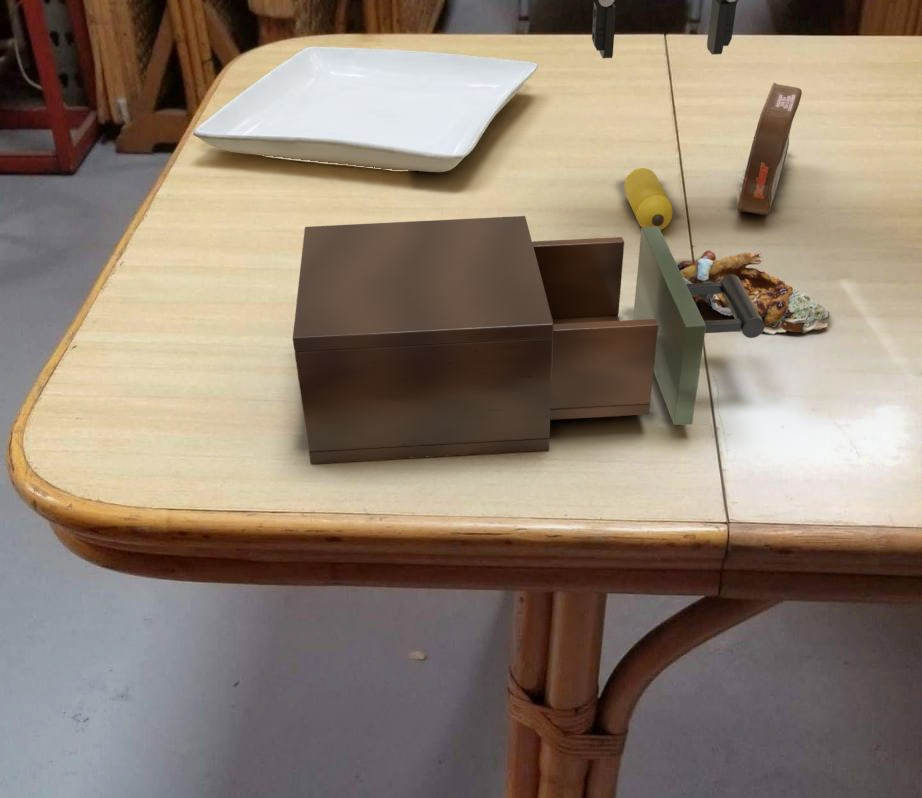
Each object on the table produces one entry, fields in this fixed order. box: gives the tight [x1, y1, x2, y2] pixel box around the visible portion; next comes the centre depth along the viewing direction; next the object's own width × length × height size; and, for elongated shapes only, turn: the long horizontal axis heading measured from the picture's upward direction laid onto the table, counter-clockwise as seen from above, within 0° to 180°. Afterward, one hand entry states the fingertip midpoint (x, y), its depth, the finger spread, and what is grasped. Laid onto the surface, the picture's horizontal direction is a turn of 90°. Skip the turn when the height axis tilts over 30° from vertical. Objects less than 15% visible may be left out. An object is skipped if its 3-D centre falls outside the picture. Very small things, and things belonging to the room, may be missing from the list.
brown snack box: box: [737, 82, 803, 216], centre depth 92 cm, size 15×3×8 cm, turn 161°
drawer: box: [532, 226, 765, 426], centre depth 69 cm, size 18×14×7 cm
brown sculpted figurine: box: [677, 250, 831, 336], centre depth 78 cm, size 7×12×4 cm, turn 71°
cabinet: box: [292, 215, 554, 465], centre depth 69 cm, size 15×15×9 cm
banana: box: [623, 167, 674, 231], centre depth 91 cm, size 3×9×3 cm, turn 4°
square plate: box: [192, 46, 539, 173], centre depth 108 cm, size 27×27×4 cm
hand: (660, 53), depth 83 cm, fingers open, 8 cm apart
